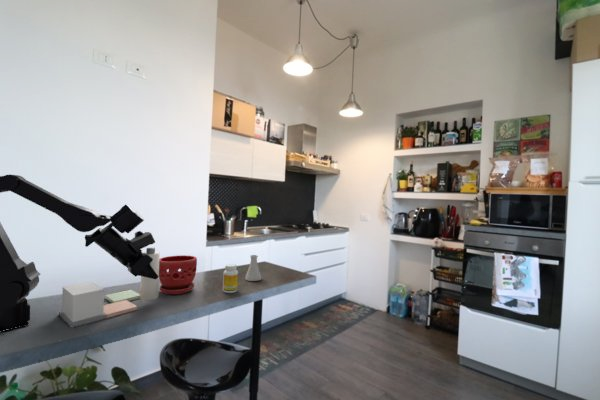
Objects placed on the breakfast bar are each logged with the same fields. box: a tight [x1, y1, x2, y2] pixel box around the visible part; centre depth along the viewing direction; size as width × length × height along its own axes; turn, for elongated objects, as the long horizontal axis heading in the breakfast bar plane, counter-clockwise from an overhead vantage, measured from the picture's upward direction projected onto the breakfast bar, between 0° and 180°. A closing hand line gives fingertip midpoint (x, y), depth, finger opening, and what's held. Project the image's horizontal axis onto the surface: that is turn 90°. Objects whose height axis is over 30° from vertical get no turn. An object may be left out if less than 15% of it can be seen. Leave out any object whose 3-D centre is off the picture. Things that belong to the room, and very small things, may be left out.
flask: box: [244, 254, 262, 282], centre depth 123 cm, size 7×7×10 cm
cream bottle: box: [139, 247, 160, 301], centre depth 91 cm, size 5×5×16 cm
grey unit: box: [58, 281, 108, 328], centre depth 82 cm, size 8×12×8 cm, turn 52°
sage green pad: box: [104, 289, 141, 304], centre depth 96 cm, size 8×8×1 cm
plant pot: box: [159, 255, 198, 295], centre depth 106 cm, size 13×13×12 cm
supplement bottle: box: [222, 263, 239, 294], centre depth 107 cm, size 5×5×10 cm
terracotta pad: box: [104, 300, 138, 319], centre depth 87 cm, size 8×8×1 cm
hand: (154, 276), depth 92 cm, fingers closed on cream bottle, 5 cm apart
